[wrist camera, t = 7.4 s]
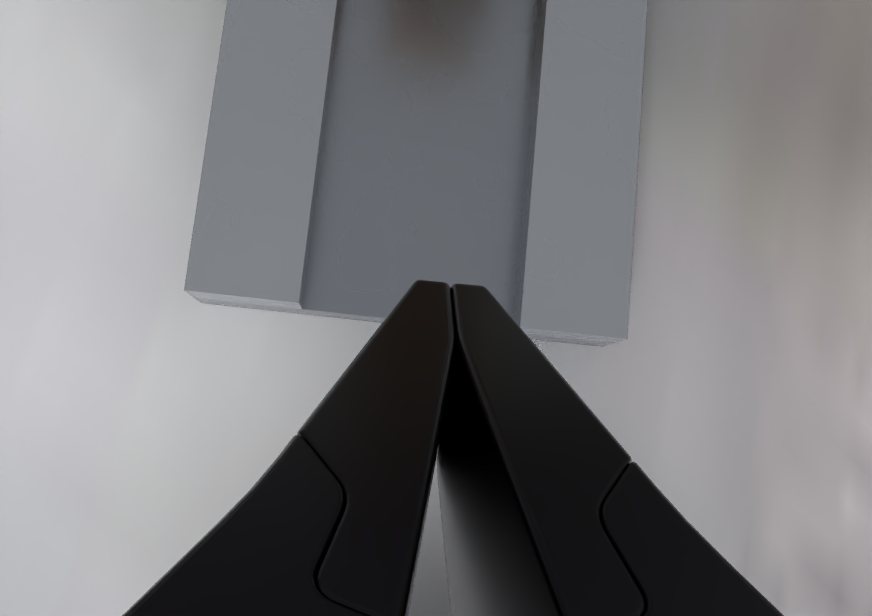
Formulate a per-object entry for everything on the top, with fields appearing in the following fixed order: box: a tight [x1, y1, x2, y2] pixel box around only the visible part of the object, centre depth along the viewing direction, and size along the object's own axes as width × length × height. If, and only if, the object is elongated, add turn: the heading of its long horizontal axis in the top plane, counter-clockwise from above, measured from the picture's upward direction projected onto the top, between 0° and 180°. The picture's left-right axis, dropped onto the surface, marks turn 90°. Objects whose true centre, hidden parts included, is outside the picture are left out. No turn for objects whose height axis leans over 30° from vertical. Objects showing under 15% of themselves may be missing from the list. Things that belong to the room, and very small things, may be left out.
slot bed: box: [184, 0, 648, 346], centre depth 23 cm, size 18×12×2 cm, turn 174°
